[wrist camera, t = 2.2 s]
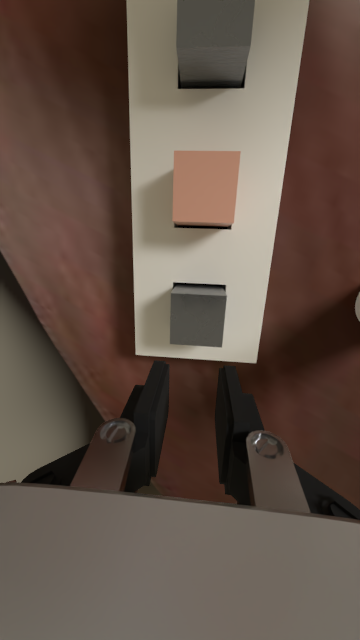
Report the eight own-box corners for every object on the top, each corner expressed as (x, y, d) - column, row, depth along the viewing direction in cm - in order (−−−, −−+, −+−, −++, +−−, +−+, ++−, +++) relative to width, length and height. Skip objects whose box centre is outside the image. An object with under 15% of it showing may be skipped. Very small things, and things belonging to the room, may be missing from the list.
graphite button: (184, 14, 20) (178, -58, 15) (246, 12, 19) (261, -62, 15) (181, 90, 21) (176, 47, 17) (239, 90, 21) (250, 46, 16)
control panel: (143, 341, 33) (135, 354, 29) (138, -6, 22) (125, -58, 18) (249, 348, 32) (256, 363, 28) (298, -12, 21) (319, -68, 17)
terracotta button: (179, 169, 23) (173, 150, 18) (232, 169, 23) (240, 151, 18) (178, 225, 25) (172, 221, 20) (227, 226, 24) (233, 223, 20)
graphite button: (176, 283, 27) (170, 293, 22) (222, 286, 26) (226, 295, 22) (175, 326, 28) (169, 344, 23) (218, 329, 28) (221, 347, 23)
